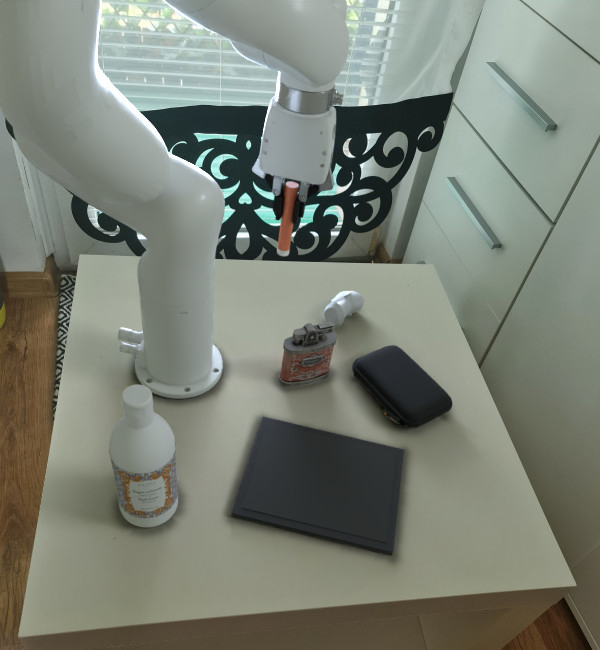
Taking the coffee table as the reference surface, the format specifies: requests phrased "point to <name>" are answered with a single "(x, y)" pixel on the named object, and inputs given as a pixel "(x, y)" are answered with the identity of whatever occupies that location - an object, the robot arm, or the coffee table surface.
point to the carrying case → (401, 387)
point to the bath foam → (143, 461)
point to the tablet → (322, 485)
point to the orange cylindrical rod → (287, 218)
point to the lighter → (307, 355)
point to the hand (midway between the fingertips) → (287, 217)
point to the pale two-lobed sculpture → (343, 306)
